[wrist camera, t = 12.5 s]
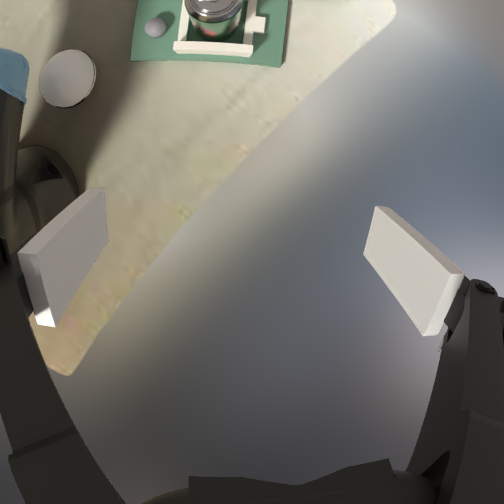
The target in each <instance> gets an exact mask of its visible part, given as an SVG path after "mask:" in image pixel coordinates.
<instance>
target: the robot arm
mask: <svg viewBox="0 0 504 504" xmlns="http://www.w3.org/2000/svg"><path fill="white" fill-rule="evenodd" d="M28 76H29V63H28V61H27V59H26V58H25V57H24V56H23V55H22V54H20V53H17V52H15V51H12V50H8V49H4V48H0V413H1V416H2V420H3V423H4V426H5V429H6V432H7V435H8V438H9V441H10V444H11V446H12V450H13V454H11V455H9V459H8V460H9V464H10V467H11V470H12V473H13V476H14V478H15V481H16V483H17V485H18V488H19V490H20V492H21V494H22V496H23V498H24V501H25V503H26V504H126V503H125V501H124V500H123V499H122V497H121V496H120V495H119V493H118V492H117V491H116V489H115V488H114V486H113V485H112V484H111V482H110V481H109V479H108V478H107V476H106V475H105V473H104V472H103V471H102V469H101V467H100V466H99V464H98V463H97V461H96V460H95V459H94V457H93V455H92V453H91V452H90V450H89V448H88V447H87V445H86V444H85V442H84V440H83V438H82V436H81V435H80V433H79V431H78V429H77V428H76V426H75V424H74V422H73V420H72V419H71V416H70V415H69V413H68V411H67V409H66V407H65V405H64V403H63V401H62V399H61V397H60V395H59V393H58V390H57V388H56V386H55V384H54V382H53V380H52V377H51V375H50V373H49V371H48V368H47V366H46V364H45V361H44V359H43V356H42V354H41V351H40V349H39V346H38V344H37V341H36V338H35V336H34V333H33V330H32V327H31V325H30V322H29V319H28V318H29V316H30V315H31V313H32V312H34V315H35V318H36V321H37V324H39V325H45V326H51V327H56V326H57V324H58V322H59V320H60V318H61V317H62V315H63V313H64V311H65V310H66V308H67V306H68V304H69V303H70V301H71V299H72V298H73V296H74V294H75V293H76V291H77V289H78V288H79V286H80V284H81V283H82V281H83V280H84V278H85V276H86V275H87V273H88V272H89V270H90V268H91V267H92V265H93V264H94V262H95V261H96V259H97V258H98V256H99V255H100V253H101V252H102V250H103V248H104V247H105V246H106V244H107V243H108V241H109V239H108V228H107V216H106V201H105V187H90V188H89V189H88V190H87V191H85V192H84V193H83V194H82V195H80V196H79V192H78V187H77V183H76V180H75V178H74V175H73V173H72V171H71V169H70V168H69V166H68V165H67V163H66V162H65V161H64V160H63V159H62V158H61V157H60V156H59V155H58V154H57V153H55V152H54V151H52V150H50V149H48V148H45V147H41V146H28V147H25V148H22V149H20V150H18V147H19V138H20V130H21V123H22V116H23V110H24V104H26V97H25V96H26V88H27V82H28ZM364 256H365V257H366V258H367V260H368V261H369V262H370V264H371V265H372V266H373V267H374V269H375V270H376V272H377V273H378V274H379V276H380V277H381V278H382V279H383V281H384V282H385V284H386V285H387V286H388V288H389V289H390V290H391V292H392V293H393V294H394V296H395V297H396V298H397V300H398V301H399V303H400V304H401V305H402V307H403V308H404V309H405V311H406V313H407V314H408V315H409V317H410V318H411V320H412V321H413V322H414V324H415V325H416V327H417V328H418V330H419V331H420V333H421V334H422V336H430V335H437V334H438V333H439V330H440V328H441V327H442V324H443V323H444V322H445V324H446V325H447V326H448V330H447V332H446V334H445V336H444V338H443V340H442V341H441V343H440V345H439V347H438V349H437V351H438V352H439V350H440V349H442V351H441V355H440V361H439V365H438V369H437V374H436V378H435V382H434V386H433V390H432V394H431V397H430V401H429V404H428V408H427V411H426V415H425V418H424V421H423V425H422V428H421V431H420V434H419V437H418V440H417V443H416V446H415V448H414V451H413V454H412V457H411V459H410V462H409V465H408V467H407V469H406V470H405V471H399V470H393V469H392V467H391V464H390V461H389V459H384V460H379V461H375V462H370V463H365V464H360V465H355V466H350V467H346V468H343V469H341V470H339V471H336V472H334V473H331V474H329V475H326V476H324V477H321V478H319V479H316V480H314V481H311V482H308V483H305V484H302V485H288V484H280V483H273V482H267V481H260V480H255V479H249V478H244V477H195V476H189V488H184V489H178V490H174V491H171V492H167V493H164V494H161V495H159V496H156V497H154V498H152V499H150V500H148V501H146V502H144V503H142V504H504V298H502V297H498V294H497V292H496V290H495V289H494V288H493V287H492V286H491V285H490V284H488V283H487V282H485V281H481V280H478V279H472V280H471V281H470V280H469V279H468V278H467V277H466V276H465V274H464V273H463V272H462V271H461V270H460V269H459V268H458V267H457V266H456V265H455V264H454V263H453V262H452V261H450V260H449V259H448V258H447V257H446V256H445V255H444V254H443V253H442V252H441V251H439V250H438V249H437V248H436V247H435V246H434V245H433V244H432V243H430V242H429V241H428V240H427V239H426V238H425V237H423V236H422V235H421V234H420V233H419V232H418V231H417V230H415V229H414V228H413V227H412V226H411V225H409V224H408V223H407V222H406V221H405V220H403V219H402V218H401V217H400V216H398V215H397V214H396V213H395V212H394V211H392V210H391V209H390V208H388V207H382V206H376V207H375V211H374V215H373V219H372V223H371V227H370V231H369V235H368V239H367V242H366V246H365V250H364Z"/></svg>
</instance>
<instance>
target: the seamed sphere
mask: <svg viewBox="0 0 504 504" xmlns="http://www.w3.org/2000/svg"><path fill="white" fill-rule="evenodd" d="M113 72H114V71H113ZM110 73H111V72H110ZM95 80H96V67H95V64H94V62H93V60H92V59H91V58H90V57H89V55H88V54H87V53H85V52H84V51H80V50H66V51H62V52H59V53H57V54H56V55H54V56H53V57H51V59H50V60H49V61H48V62H47V63H46V64H45V65H44V67H43V69H42V71H41V73H40V78H39V88H40V91H41V94H42V96H43V97H44V99H45V100H46V101H47V102H48V103H50V104H51V105H53V106H56V107H58V108H71V107H74V106H76V105H78V104H79V103H81V102H82V101H83V100H84V99H85V98H86V97H87V96H88V95H89V94H90V92H91V90H92V88H93V87H94V83H95Z"/></svg>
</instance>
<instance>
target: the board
mask: <svg viewBox="0 0 504 504" xmlns="http://www.w3.org/2000/svg"><path fill="white" fill-rule="evenodd" d="M287 9H288V0H244V2H243V7H242V11H241V15H240V20H239V25H238V29H237V31H236V33H235V34H234V35H233V36H232V37H231V38H229V39H228V40H226V41H223V42H208V41H205V40H203V39H202V38H200V37H199V36H198V34H197V33H196V31H195V28H194V26H193V24H192V21H191V19H190V17H189V14H188V12H187V10H186V7H185V3H184V0H138V2H137V9H136V15H135V23H134V30H133V38H132V47H131V57H130V61H159V60H185V61H213V62H229V63H242V64H252V65H261V66H270V67H278V68H280V67H281V61H282V53H283V44H284V35H285V26H286V17H287Z"/></svg>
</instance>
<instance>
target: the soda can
mask: <svg viewBox="0 0 504 504" xmlns="http://www.w3.org/2000/svg"><path fill="white" fill-rule="evenodd" d="M243 2H244V0H184V3H185V7H186V10H187V12H188V14H189V17H190V19H191V21H192V24H193V26H194V28H195V31H196V33H197V34H198V36H199V37H200V38H202V39H203V40H205V41H208V42H223V41H226V40H228V39H229V38H231V37H232V36H233V35H234V34H235V33H236V31H237V29H238V25H239V20H240V15H241V11H242V7H243Z"/></svg>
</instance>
